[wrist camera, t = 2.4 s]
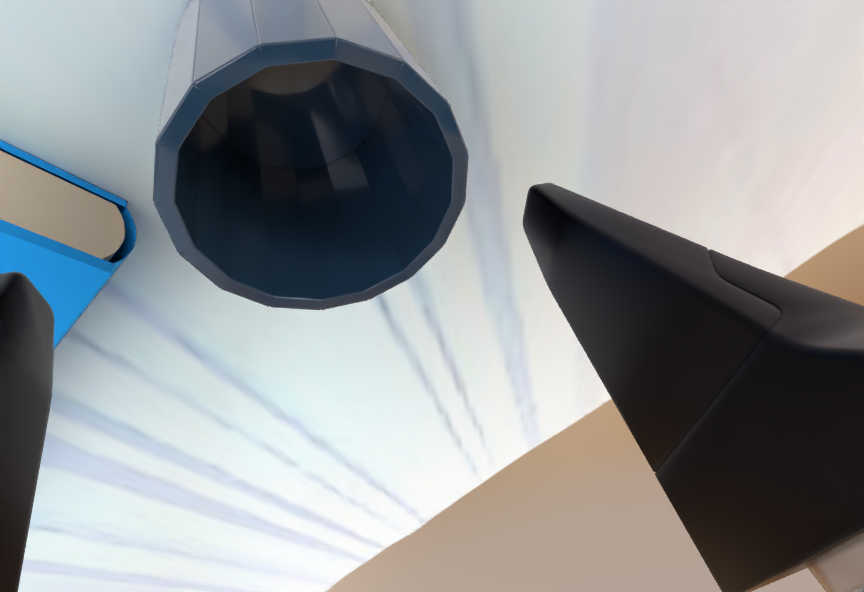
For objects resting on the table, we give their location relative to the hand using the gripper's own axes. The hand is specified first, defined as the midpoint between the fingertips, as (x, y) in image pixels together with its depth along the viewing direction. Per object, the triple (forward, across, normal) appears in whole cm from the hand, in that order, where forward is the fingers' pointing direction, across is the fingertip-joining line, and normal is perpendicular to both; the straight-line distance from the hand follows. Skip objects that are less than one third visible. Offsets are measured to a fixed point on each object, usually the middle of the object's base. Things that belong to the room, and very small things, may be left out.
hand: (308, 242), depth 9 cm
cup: (+10, -1, +1) cm, 10 cm away
